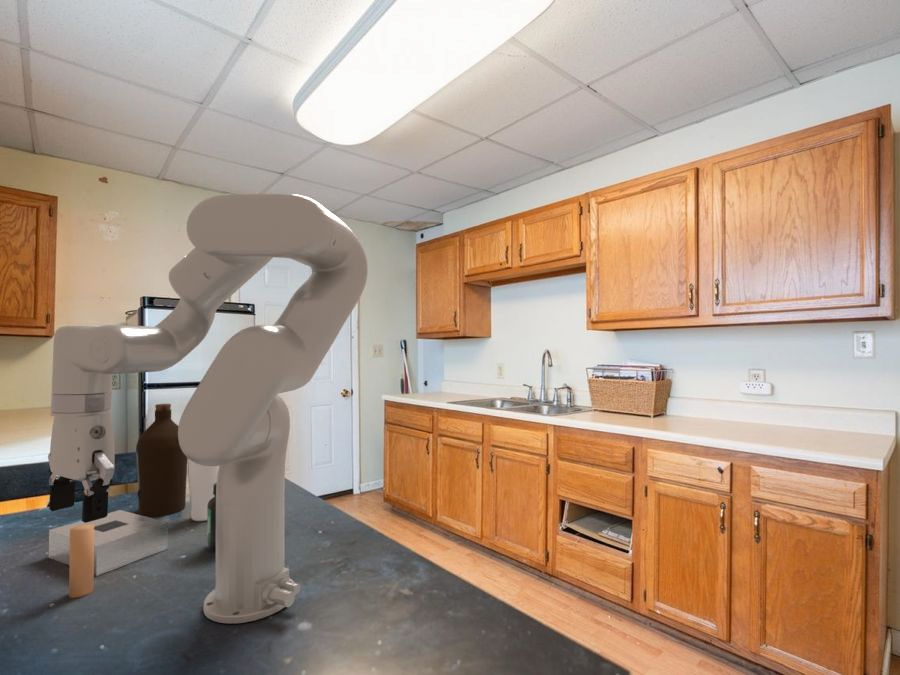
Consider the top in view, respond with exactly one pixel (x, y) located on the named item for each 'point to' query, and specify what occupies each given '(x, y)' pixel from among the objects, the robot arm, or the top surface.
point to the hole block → (114, 540)
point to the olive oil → (161, 467)
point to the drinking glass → (201, 488)
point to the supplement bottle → (211, 522)
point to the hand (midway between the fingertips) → (77, 513)
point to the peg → (81, 560)
